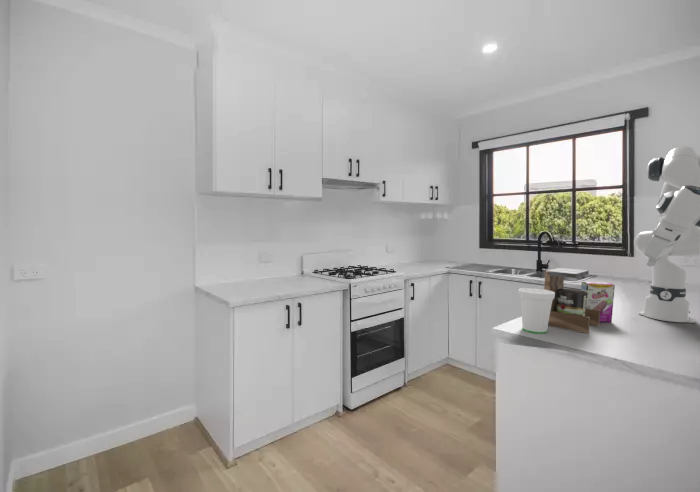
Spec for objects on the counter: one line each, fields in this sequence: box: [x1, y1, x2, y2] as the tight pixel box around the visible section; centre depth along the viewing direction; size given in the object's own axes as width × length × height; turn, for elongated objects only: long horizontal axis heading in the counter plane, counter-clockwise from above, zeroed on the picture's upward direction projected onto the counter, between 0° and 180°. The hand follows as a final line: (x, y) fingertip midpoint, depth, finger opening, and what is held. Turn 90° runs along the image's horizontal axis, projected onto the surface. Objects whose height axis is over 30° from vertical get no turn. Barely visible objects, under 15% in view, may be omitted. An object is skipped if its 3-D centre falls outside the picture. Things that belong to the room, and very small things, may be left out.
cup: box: [518, 287, 555, 334], centre depth 139 cm, size 12×12×15 cm
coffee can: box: [556, 288, 587, 316], centre depth 148 cm, size 10×10×14 cm
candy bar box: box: [580, 281, 615, 323], centre depth 155 cm, size 11×5×16 cm, turn 84°
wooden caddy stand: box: [543, 267, 600, 334], centre depth 147 cm, size 18×16×22 cm
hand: (650, 265), depth 134 cm, fingers closed
